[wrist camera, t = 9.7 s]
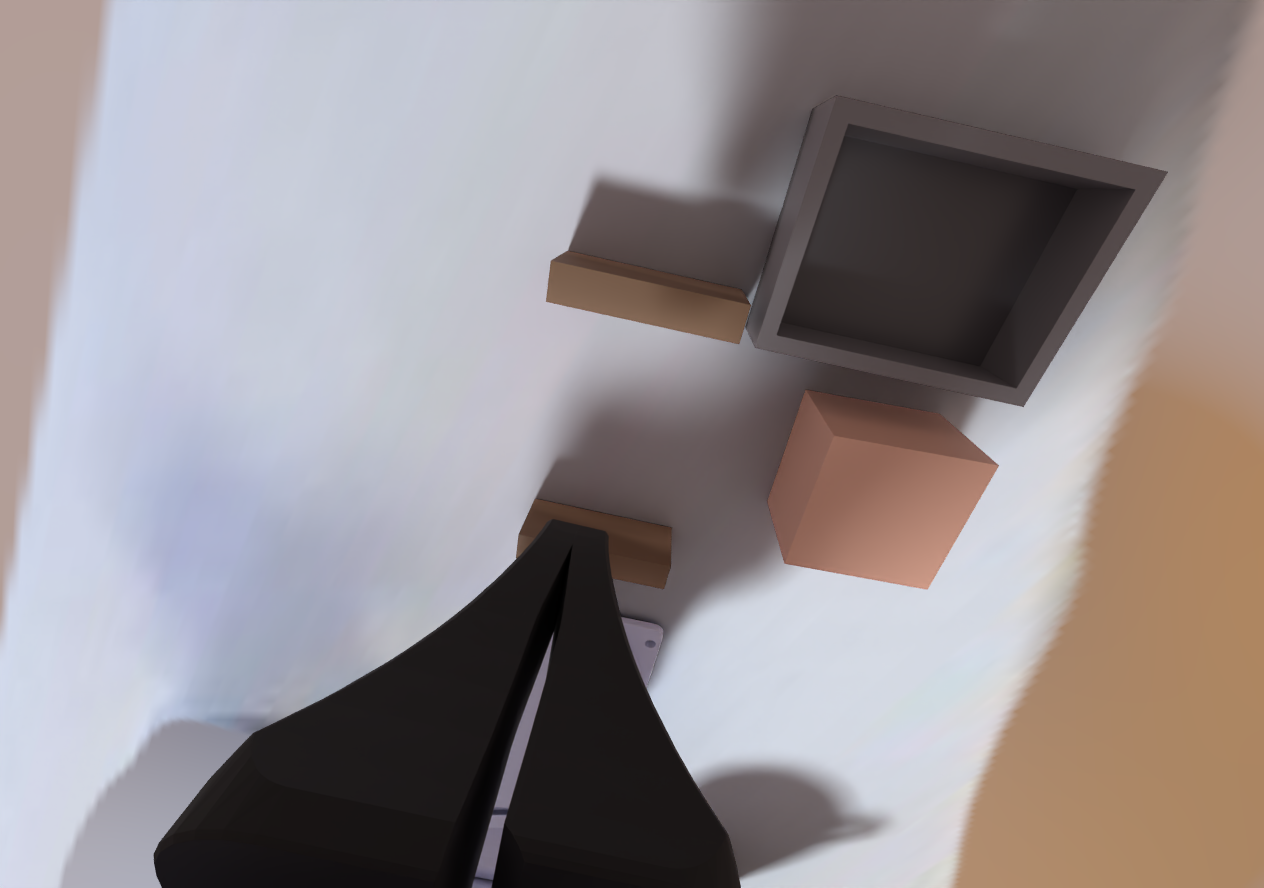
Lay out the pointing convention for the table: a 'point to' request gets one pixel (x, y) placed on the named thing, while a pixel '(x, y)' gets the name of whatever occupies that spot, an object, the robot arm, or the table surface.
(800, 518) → the terracotta block
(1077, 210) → the box
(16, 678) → the table surface
